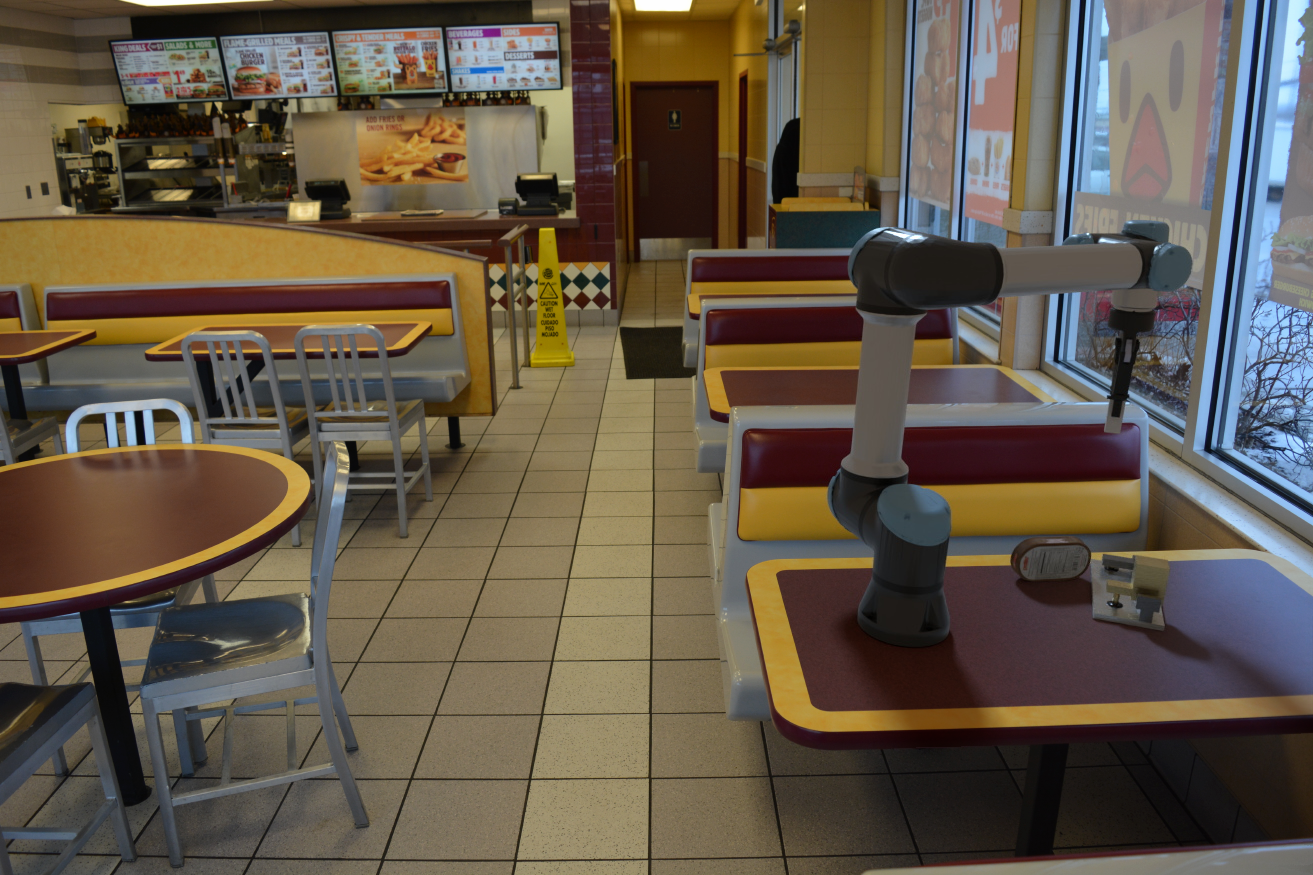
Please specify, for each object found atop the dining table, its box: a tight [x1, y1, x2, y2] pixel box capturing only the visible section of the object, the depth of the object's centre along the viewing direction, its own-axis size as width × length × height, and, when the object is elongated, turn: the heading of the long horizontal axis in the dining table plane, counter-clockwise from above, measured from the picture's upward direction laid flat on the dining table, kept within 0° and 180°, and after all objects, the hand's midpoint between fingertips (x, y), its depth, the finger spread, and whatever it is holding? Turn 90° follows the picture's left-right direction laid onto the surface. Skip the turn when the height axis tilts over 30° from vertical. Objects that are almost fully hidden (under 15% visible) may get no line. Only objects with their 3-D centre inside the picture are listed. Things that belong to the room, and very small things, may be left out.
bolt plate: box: [1090, 558, 1166, 632], centre depth 174 cm, size 11×24×1 cm, turn 158°
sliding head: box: [1106, 554, 1171, 607], centre depth 166 cm, size 9×4×9 cm, turn 68°
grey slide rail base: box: [1101, 553, 1162, 624], centre depth 173 cm, size 8×24×5 cm, turn 158°
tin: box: [1009, 535, 1092, 583], centre depth 179 cm, size 15×3×8 cm, turn 97°
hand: (1112, 431), depth 180 cm, fingers closed
